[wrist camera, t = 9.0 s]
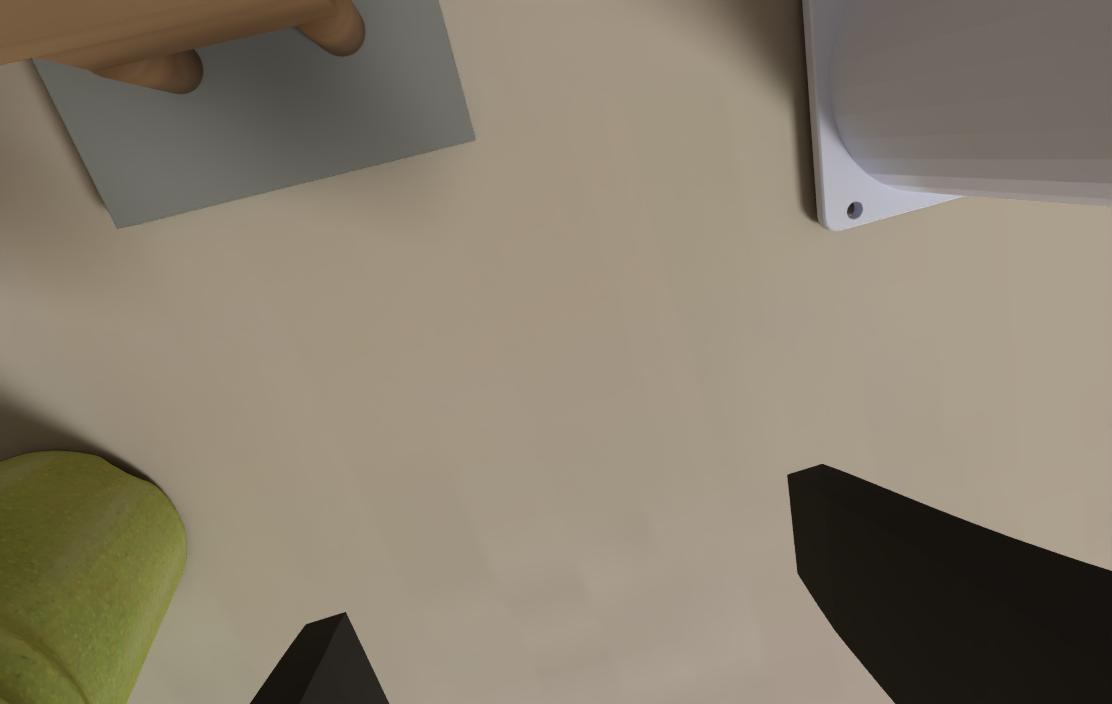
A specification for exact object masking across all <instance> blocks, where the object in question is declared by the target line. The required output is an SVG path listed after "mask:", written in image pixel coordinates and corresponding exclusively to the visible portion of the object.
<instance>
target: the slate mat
mask: <svg viewBox="0 0 1112 704" xmlns="http://www.w3.org/2000/svg"><path fill="white" fill-rule="evenodd" d="M351 1H352V2H353V4H354V5H355V7H356V9H357V10H358V12H359V13H360V15H361V16H362V18H363V21H364V24H365V39H364V42H363V44H362V46H361V48H360V49H359V50H358V51H357V52H355V53H354V54H352V55H349V56H345V57H340V56H335V55H332V54H330V53H328V52H327V51H325V50H324V49H323V48H322V47H320V46H319V45H318V44H317V43H316V42H314V41H313V40H312V39H311V38H309V37H308V36H307V35H306V34H305V33H303V32H302V31H301V30H300V29H299V28H297V27H296V26H293V27H289V28H284V29H280V30H275V31H271V32H267V33H262V34H258V35H253V36H249V37H245V38H240V39H236V40H231V41H227V42H222V43H218V44H214V45H209V46H205V47H200V48H196V49H195V51H196V52H197V53H198V55H199V57H200V59H201V61H202V65H203V78H202V81H201V83H200V85H199V86H198V87H197V88H196V89H195V90H194V91H192V92H190V93H187V94H174V93H169V92H165V91H161V90H156V89H152V88H147V87H143V86H139V85H134V84H130V83H125V82H121V81H117V80H112V79H108V78H104V77H101V76H98V75H96V74H94V73H92V72H90V71H89V70H85V69H81V68H77V67H72V66H68V65H64V64H60V63H56V62H51V61H47V60H43V59H39V58H35V57H34V58H32V60H33V62H34V64H35V66H36V68H37V70H38V72H39V74H40V76H41V78H42V80H43V82H44V84H45V86H46V88H47V90H48V92H49V94H50V96H51V98H52V100H53V102H54V104H55V106H56V108H57V110H58V112H59V114H60V116H61V118H62V120H63V122H64V124H65V126H66V128H67V130H68V132H69V134H70V136H71V138H72V140H73V142H74V144H75V146H76V148H77V150H78V152H79V154H80V156H81V158H82V160H83V162H84V164H85V166H86V168H87V170H88V172H89V174H90V176H91V178H92V180H93V182H94V184H95V186H96V188H97V190H98V192H99V194H100V196H101V198H102V200H103V202H104V204H105V206H106V207H107V209H108V211H109V213H110V215H111V217H112V219H113V221H114V223H115V225H116V227H117V229H119V228H124V227H128V226H133V225H137V224H141V223H145V222H149V221H153V220H157V219H161V218H165V217H169V216H173V215H177V214H181V213H185V212H189V211H193V210H197V209H201V208H205V207H209V206H213V205H217V204H221V203H225V202H229V201H233V200H237V199H241V198H245V197H249V196H253V195H257V194H261V193H265V192H269V191H273V190H277V189H281V188H285V187H289V186H293V185H297V184H301V183H305V182H310V181H314V180H318V179H322V178H326V177H330V176H334V175H338V174H342V173H346V172H350V171H354V170H358V169H362V168H366V167H370V166H374V165H378V164H382V163H386V162H390V161H394V160H398V159H402V158H406V157H410V156H414V155H418V154H422V153H426V152H430V151H434V150H438V149H442V148H446V147H450V146H454V145H458V144H462V143H466V142H470V141H474V140H476V139H475V135H474V132H473V128H472V124H471V120H470V117H469V113H468V109H467V105H466V102H465V98H464V94H463V90H462V87H461V83H460V79H459V75H458V72H457V68H456V64H455V60H454V57H453V53H452V49H451V45H450V42H449V38H448V34H447V30H446V27H445V23H444V19H443V15H442V12H441V8H440V4H439V0H351Z"/></svg>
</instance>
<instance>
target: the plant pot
mask: <svg viewBox="0 0 1112 704" xmlns="http://www.w3.org/2000/svg"><path fill="white" fill-rule="evenodd" d="M186 559H187V539H186V533H185V528H184V526H183V523H182V521H181V519H180V516H179V514H178V513H177V511H176V509H175V508H174V506H173V505H172V503H171V502H170V500H169V499H168V498H167V497H166V496H165V495H164V493H163V492H162V491H161V490H160V489H158V488H157V487H156V486H155V485H154V484H152V483H150V482H148V481H145V480H142V479H139V478H137V477H134V476H132V475H130V474H127V473H126V472H124V471H122V470H120V469H119V468H117V467H115V466H113V465H111V464H110V463H108V462H107V461H105V460H104V459H103V458H101V457H99V456H96V455H91V454H86V453H81V452H72V451H42V452H33V453H28V454H23V455H19V456H15V457H12V458H9V459H7V460H4V461H1V462H0V704H126V703H127V701H128V698H129V696H130V694H131V691H132V689H133V687H134V685H135V682H136V680H137V678H138V675H139V673H140V671H141V668H142V666H143V664H144V661H145V659H146V657H147V654H148V652H149V650H150V647H151V645H152V643H153V640H154V638H155V636H156V633H157V631H158V629H159V627H160V624H161V622H162V620H163V618H164V615H165V613H166V611H167V609H168V606H169V604H170V602H171V599H172V597H173V595H174V592H175V590H176V588H177V585H178V583H179V581H180V579H181V576H182V574H183V571H184V567H185V563H186Z"/></svg>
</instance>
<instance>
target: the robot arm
mask: <svg viewBox="0 0 1112 704" xmlns="http://www.w3.org/2000/svg"><path fill="white" fill-rule="evenodd" d="M802 4H803V18H804V33H805V47H806V61H807V75H808V90H809V104H810V118H811V132H812V147H813V161H814V175H815V190H816V204H817V218H818V221H819V224H820V225H821V226H822V228H824V229H827V230H830V231H841V230H844V229H848V228H851V227H855V226H859V225H862V224H866V223H870V222H873V221H877V220H880V219H884V218H888V217H891V216H895V215H898V214H902V213H906V212H909V211H913V210H916V209H920V208H924V207H927V206H931V205H935V204H938V203H942V202H945V201H949V200H953V199H956V198H960V197H963V196H974V197H987V198H1001V199H1014V200H1027V201H1040V202H1053V203H1067V204H1080V205H1093V206H1106V207H1112V0H802ZM851 203H853V204H854V212H853V213H852V215H851V216H850V217H848V215H847V209H848V207H849V205H850V204H851ZM787 477H788V487H789V496H790V506H791V515H792V525H793V534H794V544H795V553H796V563H797V572H798V575H799V577H800V578H801V580H802V581H803V583H804V584H805V586H806V587H807V589H808V591H809V592H810V594H811V595H812V597H813V598H814V600H815V602H816V603H817V605H818V606H819V608H820V609H821V611H822V612H823V614H824V615H825V617H826V618H827V619H828V621H829V622H830V624H831V625H832V627H833V628H834V630H835V631H836V633H837V634H838V635H839V636H840V637H841V639H842V640H843V641H844V642H845V644H846V645H847V646H848V647H849V649H850V650H851V651H852V652H853V653H854V655H855V656H856V657H857V658H858V659H859V661H860V662H861V663H862V664H863V666H864V667H865V668H866V669H867V670H868V672H869V673H870V674H871V675H872V676H873V678H874V679H875V680H876V681H877V682H878V684H879V685H880V686H881V687H882V688H883V690H884V691H885V692H886V693H887V694H888V696H889V697H890V698H891V699H892V700H893V702H894V703H895V704H1112V571H1110V570H1107V569H1104V568H1101V567H1098V566H1094V565H1091V564H1088V563H1085V562H1082V561H1079V560H1076V559H1073V558H1070V557H1067V556H1064V555H1061V554H1058V553H1055V552H1052V551H1049V550H1046V549H1043V548H1041V547H1038V546H1035V545H1032V544H1029V543H1026V542H1023V541H1020V540H1017V539H1014V538H1012V537H1009V536H1006V535H1003V534H1001V533H998V532H995V531H992V530H990V529H987V528H984V527H982V526H979V525H976V524H974V523H971V522H968V521H966V520H963V519H961V518H958V517H955V516H953V515H950V514H948V513H945V512H943V511H940V510H938V509H935V508H933V507H930V506H928V505H925V504H923V503H920V502H917V501H915V500H913V499H910V498H908V497H905V496H903V495H900V494H898V493H895V492H893V491H890V490H888V489H885V488H883V487H881V486H878V485H876V484H873V483H871V482H868V481H866V480H863V479H861V478H858V477H856V476H853V475H851V474H848V473H846V472H843V471H841V470H838V469H835V468H832V467H830V466H827V465H824V464H820V465H817V466H814V467H811V468H807V469H804V470H801V471H798V472H795V473H791V474H788V475H787ZM250 704H389V702H388V700H387V698H386V696H385V694H384V692H383V690H382V687H381V685H380V683H379V681H378V679H377V677H376V675H375V673H374V671H373V668H372V666H371V664H370V662H369V660H368V658H367V656H366V654H365V652H364V649H363V647H362V645H361V643H360V641H359V639H358V637H357V635H356V633H355V630H354V628H353V626H352V624H351V622H350V620H349V618H348V616H347V614H346V612H344V613H341V614H338V615H335V616H331V617H328V618H325V619H322V620H318V621H315V622H312V623H309V624H306V625H305V626H304V628H303V629H302V630H301V632H300V633H299V634H298V636H297V637H296V638H295V640H294V641H293V643H292V644H291V645H290V647H289V648H288V650H287V651H286V652H285V654H284V655H283V657H282V658H281V660H280V661H279V662H278V664H277V665H276V667H275V668H274V670H273V671H272V673H271V674H270V675H269V677H268V678H267V680H266V681H265V683H264V684H263V686H262V687H261V688H260V690H259V691H258V693H257V694H256V696H255V697H254V698H253V700H252V701H251V703H250Z"/></svg>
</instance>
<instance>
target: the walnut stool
mask: <svg viewBox="0 0 1112 704" xmlns="http://www.w3.org/2000/svg"><path fill="white" fill-rule="evenodd" d="M293 26H296V27H297V28H299V29H300V30H301V31H302V32H303V33H305V34H306V35H307V36H308V37H309V38H311V39H312V40H313V41H314V42H316V43H317V44H318V45H319V46H320V47H322V48H323V49H324V50H325V51H327V52H328V53H330V54H332V55H335V56H340V57H345V56H349V55H352V54H354V53H355V52H357V51H358V50H359V49H360V48H361V46H362V44H363V42H364V39H365V24H364V21H363V18H362V16H361V15H360V13H359V12H358V10H357V9H356V7H355V5H354V4H353V2H352V1H351V0H0V65H3V64H7V63H12V62H16V61H21V60H25V59H30V58H34V57H35V58H39V59H43V60H47V61H51V62H56V63H60V64H64V65H68V66H72V67H77V68H81V69H85V70H89V71H90V72H92V73H94V74H96V75H98V76H101V77H104V78H108V79H112V80H117V81H121V82H125V83H130V84H134V85H139V86H143V87H147V88H152V89H156V90H161V91H165V92H169V93H174V94H187V93H190V92H192V91H194V90H195V89H196V88H197V87H198V86H199V85H200V83H201V81H202V78H203V65H202V61H201V59H200V57H199V55H198V53H197V52H196V51H195V49H196V48H200V47H205V46H209V45H214V44H218V43H222V42H227V41H231V40H236V39H240V38H245V37H249V36H253V35H258V34H262V33H267V32H271V31H275V30H280V29H284V28H289V27H293Z"/></svg>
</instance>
